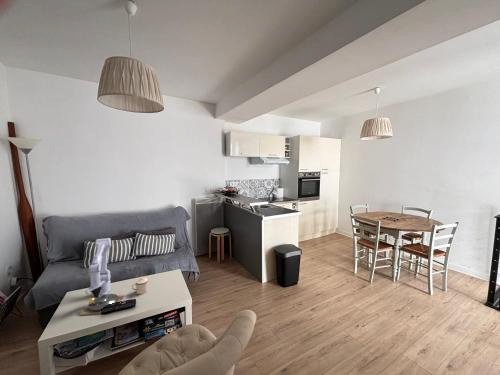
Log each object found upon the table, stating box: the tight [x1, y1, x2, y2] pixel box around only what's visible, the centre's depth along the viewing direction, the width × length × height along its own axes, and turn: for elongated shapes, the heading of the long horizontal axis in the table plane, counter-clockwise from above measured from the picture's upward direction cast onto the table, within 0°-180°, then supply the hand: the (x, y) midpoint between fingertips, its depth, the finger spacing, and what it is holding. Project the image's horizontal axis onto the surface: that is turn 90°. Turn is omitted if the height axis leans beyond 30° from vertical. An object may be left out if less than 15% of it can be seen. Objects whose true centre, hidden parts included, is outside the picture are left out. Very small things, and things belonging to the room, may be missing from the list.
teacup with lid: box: [131, 277, 149, 295], centre depth 169 cm, size 12×9×12 cm
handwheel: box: [87, 293, 118, 311], centre depth 152 cm, size 18×18×6 cm
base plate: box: [79, 294, 126, 317], centre depth 152 cm, size 20×20×1 cm
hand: (96, 297), depth 154 cm, fingers closed
